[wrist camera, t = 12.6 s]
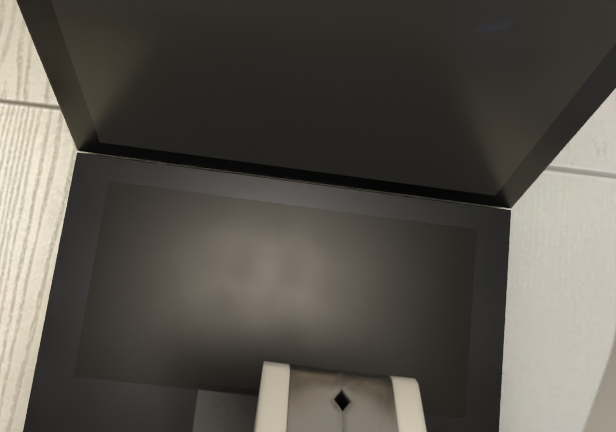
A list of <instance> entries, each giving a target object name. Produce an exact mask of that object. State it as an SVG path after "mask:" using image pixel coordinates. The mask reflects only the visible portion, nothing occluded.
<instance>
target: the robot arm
mask: <svg viewBox="0 0 616 432" xmlns="http://www.w3.org/2000/svg"><path fill="white" fill-rule="evenodd" d="M254 432H427V430H426V424H425V419H424V413H423V407H422V402H421V396H420V390H419V385H418V382H417V381H416V379H414V378H407V377H397V376H388V375H384V374H374V373H364V372H354V371H344V370H339V371H335V370H328V369H321V368H314V367H306V366H299V365H292V364H290V365H289V364H284V363H276V362H268V361H264V363H263V369H262V376H261V383H260V390H259V396H258V403H257V410H256V417H255V424H254Z"/></svg>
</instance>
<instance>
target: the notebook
mask: <svg viewBox="0 0 616 432" xmlns="http://www.w3.org/2000/svg"><path fill="white" fill-rule="evenodd" d="M510 218H511V210H505V209H498V208H490V207H483V206H475V205H468V204H460V203H453V202H445V201H438V200H430V199H422V198H415V197H407V196H400V195H392V194H385V193H377V192H370V191H362V190H355V189H347V188H340V187H332V186H325V185H317V184H310V183H302V182H295V181H287V180H280V179H272V178H265V177H257V176H250V175H242V174H235V173H227V172H220V171H212V170H205V169H197V168H190V167H182V166H175V165H167V164H160V163H152V162H145V161H137V160H130V159H122V158H115V157H107V156H100V155H92V154H85V153H77V156H76V161H75V166H74V171H73V177H72V182H71V187H70V192H69V197H68V202H67V208H66V213H65V218H64V223H63V228H62V233H61V239H60V244H59V249H58V254H57V259H56V264H55V269H54V275H53V280H52V285H51V290H50V295H49V300H48V306H47V311H46V316H45V321H44V326H43V331H42V337H41V342H40V347H39V352H38V357H37V362H36V368H35V373H34V378H33V383H32V388H31V393H30V399H29V404H28V409H27V414H26V419H25V424H24V430H23V432H254V424H255V417H256V410H257V403H258V396H259V390H260V383H261V376H262V369H263V363H264V361H268V362H276V363H284V364H289V365H290V364H292V365H299V366H306V367H314V368H321V369H328V370H335V371H339V370H344V371H354V372H364V373H374V374H384V375H388V376H397V377H407V378H414V379H416V381H417V382H418V385H419V390H420V396H421V402H422V407H423V413H424V419H425V424H426V430H427V432H499V417H500V399H501V381H502V363H503V344H504V326H505V308H506V290H507V272H508V254H509V236H510Z"/></svg>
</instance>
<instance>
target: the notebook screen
mask: <svg viewBox="0 0 616 432" xmlns="http://www.w3.org/2000/svg"><path fill="white" fill-rule="evenodd" d="M16 1H17V3H18V6H19V8H20V11H21V13H22V15H23V18H24V20H25V23H26V25H27V28H28V30H29V33H30V35H31V37H32V40H33V42H34V45H35V47H36V50H37V52H38V55H39V57H40V60H41V62H42V64H43V67H44V69H45V72H46V74H47V77H48V79H49V82H50V84H51V86H52V89H53V91H54V94H55V96H56V99H57V101H58V104H59V106H60V109H61V111H62V113H63V116H64V118H65V121H66V123H67V126H68V128H69V131H70V133H71V135H72V138H73V140H74V143H75V145H76V148H77V150H78V151H84V152H91V153H99V154H106V155H114V156H121V157H129V158H136V159H144V160H151V161H159V162H166V163H174V164H181V165H189V166H196V167H204V168H211V169H219V170H226V171H234V172H241V173H249V174H256V175H264V176H271V177H279V178H286V179H294V180H301V181H309V182H316V183H324V184H331V185H339V186H346V187H354V188H361V189H369V190H376V191H384V192H391V193H399V194H406V195H414V196H421V197H429V198H436V199H444V200H451V201H459V202H466V203H474V204H481V205H489V206H496V207H504V208H512V207H513V205H514V204H515V203H516V202H517V201H518V200H519V199H520V197H521V196H522V195H523V194H524V193H525V192H526V190H527V189H528V188H529V187H530V186H531V185H532V184H533V182H534V181H535V180H536V179H537V178H538V177H539V176H540V174H541V173H542V172H543V171H544V170H545V169H546V167H547V166H548V165H549V164H550V163H551V162H552V161H553V159H554V158H555V157H556V156H557V155H558V154H559V153H560V151H561V150H562V149H563V148H564V147H565V146H566V145H567V143H568V142H569V141H570V140H571V139H572V138H573V136H574V135H575V134H576V133H577V132H578V131H579V130H580V128H581V127H582V126H583V125H584V124H585V123H586V122H587V120H588V119H589V118H590V117H591V116H592V115H593V113H594V112H595V111H596V110H597V109H598V108H599V107H600V105H601V104H602V103H603V102H604V101H605V100H606V99H607V97H608V96H609V95H610V94H611V93H612V92H613V90H614V89H615V88H616V0H16Z"/></svg>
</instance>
